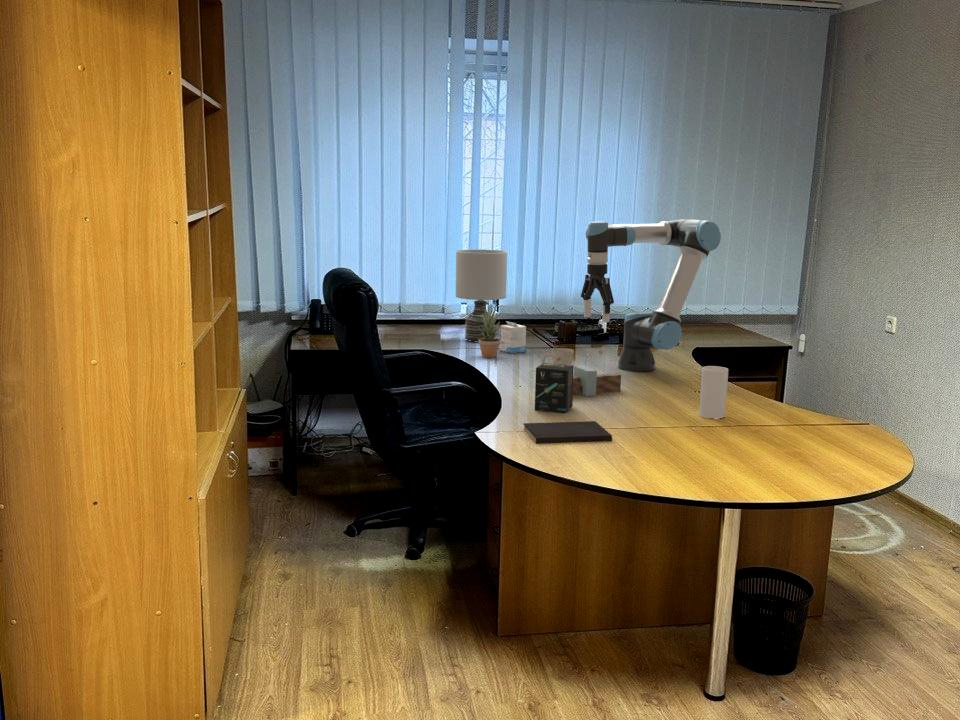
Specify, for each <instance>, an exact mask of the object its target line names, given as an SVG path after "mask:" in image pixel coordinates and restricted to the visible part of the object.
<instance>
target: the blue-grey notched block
mask: <svg viewBox="0 0 960 720" xmlns="http://www.w3.org/2000/svg"><path fill="white" fill-rule="evenodd" d="M573 366H574V367H573V376H577V377H580V385H581V386H583V389H582V394H581V395H583V396H585V397H591V396H595V397H596V395H597V393H596V380H597V375H598V370H595V368H591V367H589V366H587V365H582V364H581V365H573Z"/></svg>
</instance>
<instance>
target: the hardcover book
mask: <svg viewBox="0 0 960 720" xmlns="http://www.w3.org/2000/svg"><path fill="white" fill-rule="evenodd" d="M522 425H524V427H523V429H524V431H525V432H526V433H527V434H528V435H529V437H530V438H531V439H532V440H533V441H534V442H535V444H536V445H538V444H540V445H541V444H560V443H561V444H567V443H569V444H570V443H592V442H593V443H595V442H612V441H613V435H612V433H610V432H608V430H606V429H605V428H604V427H603V426H601V425H600V424H599V422H597V421H595V420H591V421H590V420H587V421H558V422H553V421H552V422H526V423H523V424H522Z"/></svg>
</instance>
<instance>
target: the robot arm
mask: <svg viewBox="0 0 960 720" xmlns="http://www.w3.org/2000/svg"><path fill="white" fill-rule="evenodd" d="M721 235H722V234H721V231H720V228H719V226H718V224H716V222H714V221H711V220H707V219H692V218H683V219H676V220H675V219H673V220H663V221H660V222H659V223H619V224H618V223H617V224H616V223H611V224H609V222H607V221H591V222H589V223H588V225H587V227H586V230H585V238H586V240H587V255H586V256H587V257H586V258H587V263H588V264H586V265H587V266H586V267H587V268H586V269H587V270H586V273H587V274H585V275H584V283H583V286H582V289H581V293H580V298H582V299H583V303H584V304H583V318H589V317H592V296H593V293H594V291H595V289H596V290H597V291H598V292H599V294H600V297H601V299H602V302H603V304H602V323H610V322H611V305H612V304H615V301H614V296H613V291H612V288H611V281H610V280H611V279H610V278H609V277H605V275H606V274H608V264H607V263H609V262H608V261H609V259H608V258H609V251H608V249H609V247H626V246H632V245H633V244H650V243H651V244H654V243H655V244H660V245H662V246H673V247H678V248H679V250H680V255H679V258H678V260H677V262H676V265H675V267H674V269H673V272H672V275H671V277H670V280H669V282H668V285H667V287H666V289H665V292H664V294H663V297H662V299H661V303H660V304H659V307H658V308H657V309H654V310H653V311H651V312H650V311H649V312H648V311H647V312H629V313H626V314H625V317H624V321H623V324H624V325H623V347H622V351H621V354H620V356H619V360H618V363H617V367H618V368H619V369H621V370H625V371H632V372H651V371H654V370H655V369H656V361H655V357H654V354H653V348H654V349H657V350H664V351H668V350H671V349H673V348H675V347H677V346H678V344H679V343H680V342H681V339H682V337H683V331H682V326H681V323H682V320H681V316H680V315H681V314H682V310H683V308H684V305H685V303H686V301H687V298H688V295H689V293H690V291H691V288H692V286H693V283H694V281H695V279H696V276H697V274H698V270H699V269H700V266H701V263H702V261H703V260H705V259H707V258H708V257H709V254H710V252H713V251H715V250H716V249H717V248H718V247H719V245H720V243H721V239H722V236H721Z"/></svg>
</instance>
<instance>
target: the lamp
mask: <svg viewBox="0 0 960 720" xmlns="http://www.w3.org/2000/svg"><path fill="white" fill-rule="evenodd" d="M507 274H508V251H507V250H501V249H486V248H485V249H481V248H480V249H479V248H478V249H477V248H476V249H473V248H471V249H469V248H468V249H467V248H466V249H457V250H455V298H458V299H461V300H462V299H464V300H472V301H473V300H474V301H473V305H474V306H473V311H472V313H470V314H469V315H468V316H467V317H466V319H465V323H464V325H465V328H464V330H465V332H464V340H465V339H467V340H471V341H478V340H479V339H482V338H483V337H484V336H483V335H482V333H483V332H485V331H484V330H483V328H484V329H486V328H485V326H484V322H483V319H484V317H485V319H486V315H485V311H486V314H487V317H488V309H487V305H488V300H489V301H497V300H504V299H506V298H507V284H508V283H507V282H508V281H507V279H508V278H507V276H508V275H507ZM483 316H484V317H483ZM490 316H491V317H492V314H490ZM494 326H496V324H494ZM494 326H493V327H494ZM478 327H479V328H480V329H481V330H482V331H483V332H482V331H481V330H480V329H479V328H478ZM482 327H483V328H482ZM481 332H482V333H481ZM484 338H485V337H484ZM467 340H466V341H467Z"/></svg>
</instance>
